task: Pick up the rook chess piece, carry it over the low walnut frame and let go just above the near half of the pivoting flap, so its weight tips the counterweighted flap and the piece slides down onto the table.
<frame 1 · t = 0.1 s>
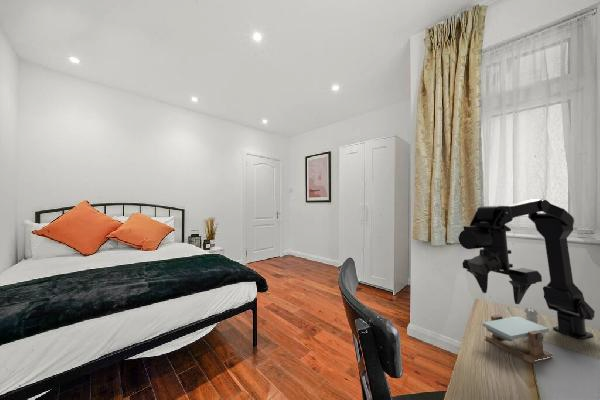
hand: (499, 298, 68), 15 cm above the table, tool pointing down, fingers open, 9 cm apart
rook chess piece: (533, 334, 74), on the table
pivoting flap: (514, 328, 67), point 6 cm above the table, hinge at 0.0°
flap frame: (516, 347, 67), on the table
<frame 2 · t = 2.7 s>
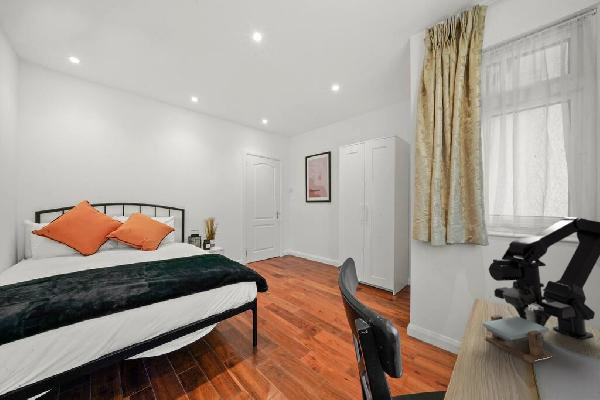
hand: (532, 327, 74), 2 cm above the table, tool pointing down, fingers closed on rook chess piece, 3 cm apart
rook chess piece: (533, 334, 74), on the table, touching gripper
everything else where it was.
when the fingers open (10 cm above the table, at t = 5.2 s): rook chess piece drops 6 cm, point 2 cm above the table.
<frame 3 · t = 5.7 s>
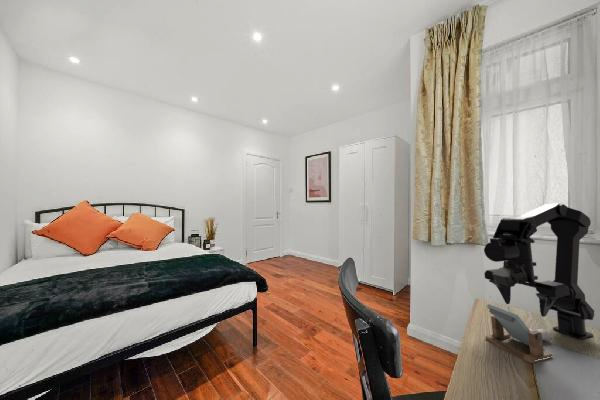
hand: (524, 309, 69), 10 cm above the table, tool pointing down, fingers open, 9 cm apart
rook chess piece: (524, 335, 69), point 2 cm above the table
pivoting flap: (513, 328, 67), point 6 cm above the table, hinge at -51.3°
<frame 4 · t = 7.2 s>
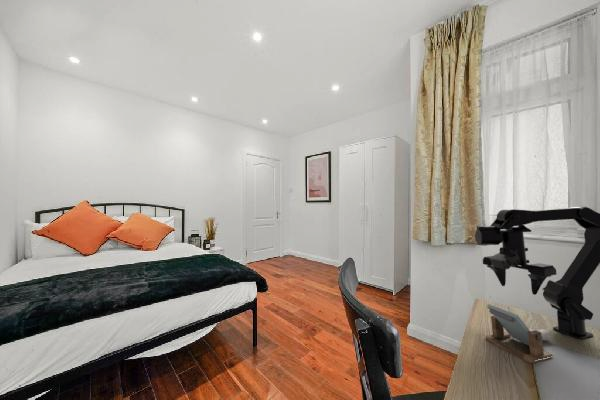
hand: (518, 289, 78), 13 cm above the table, tool pointing down, fingers open, 9 cm apart
nothing on the table moved.
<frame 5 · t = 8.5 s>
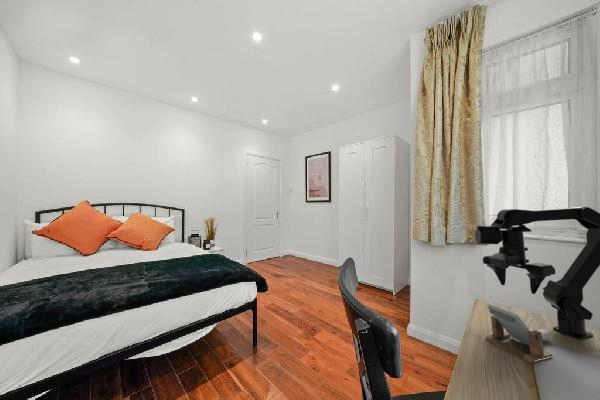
hand: (517, 289, 78), 13 cm above the table, tool pointing down, fingers open, 9 cm apart
nothing on the table moved.
at the end: rook chess piece inside the target area on the table beside the flap frame (0.8 cm from its centre), point 2.2 cm above the table; rook chess piece moved 9.3 cm from its start; rook chess piece touching table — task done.
